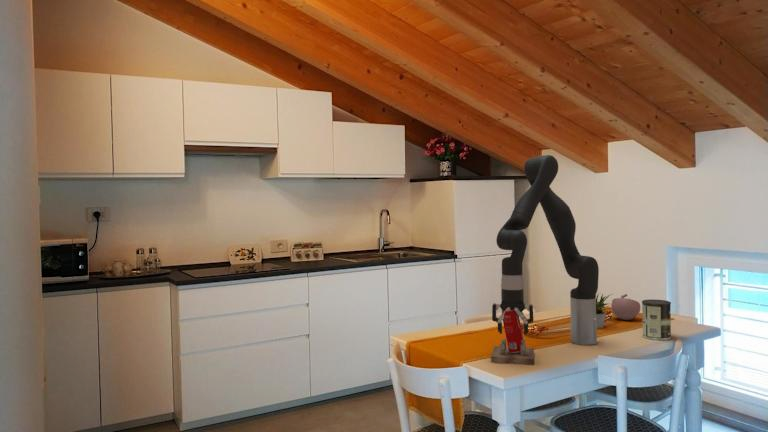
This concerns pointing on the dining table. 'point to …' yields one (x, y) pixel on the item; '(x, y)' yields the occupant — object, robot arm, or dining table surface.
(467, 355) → the dining table surface
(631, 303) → the pink apple
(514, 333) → the beverage can
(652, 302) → the coffee can
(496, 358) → the peg board
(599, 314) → the house plant
